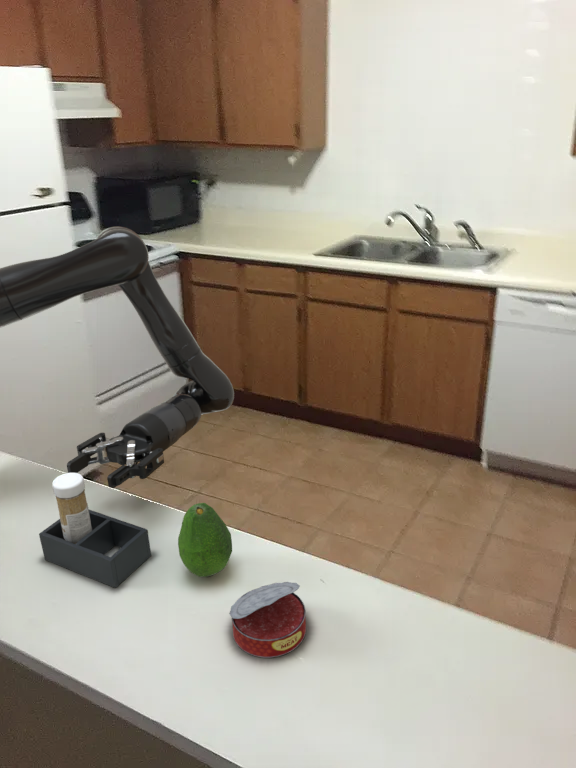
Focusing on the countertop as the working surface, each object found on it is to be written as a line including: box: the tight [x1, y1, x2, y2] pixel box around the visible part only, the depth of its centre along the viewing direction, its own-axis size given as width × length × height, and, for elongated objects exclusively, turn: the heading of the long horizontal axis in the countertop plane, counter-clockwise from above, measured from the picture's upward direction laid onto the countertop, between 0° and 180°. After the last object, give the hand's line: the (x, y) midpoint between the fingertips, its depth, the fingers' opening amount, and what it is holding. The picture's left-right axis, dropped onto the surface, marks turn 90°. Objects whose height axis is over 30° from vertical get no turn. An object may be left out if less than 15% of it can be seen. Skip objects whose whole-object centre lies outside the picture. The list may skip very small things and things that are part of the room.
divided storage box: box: [38, 508, 152, 589], centre depth 104 cm, size 14×8×5 cm, turn 61°
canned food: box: [228, 581, 307, 659], centre depth 88 cm, size 11×10×10 cm
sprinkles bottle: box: [51, 472, 92, 544], centre depth 103 cm, size 5×5×14 cm
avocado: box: [177, 502, 233, 578], centre depth 98 cm, size 8×8×12 cm
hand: (89, 476), depth 105 cm, fingers open, 8 cm apart
